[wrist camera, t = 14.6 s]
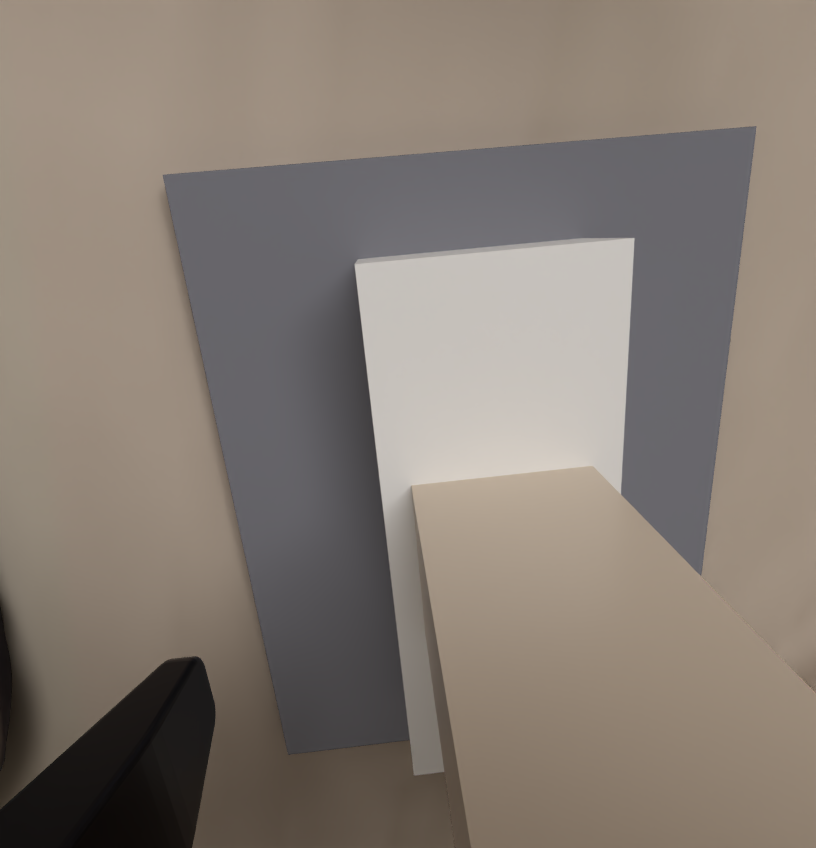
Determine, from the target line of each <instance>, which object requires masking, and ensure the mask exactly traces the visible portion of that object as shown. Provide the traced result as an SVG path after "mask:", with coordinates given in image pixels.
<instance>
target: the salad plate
mask: <svg viewBox="0 0 816 848" xmlns="http://www.w3.org/2000/svg"><path fill="white" fill-rule="evenodd" d="M11 693H12V673H11V664H10V657H9V651H8V647H7V642H6V638H5V633H4V627H3V620H2V614H1V608H0V771H1V769H2V767H3V764H4V761H5V750H6V740H7V733H8V726H9V719H10V707H11Z"/></svg>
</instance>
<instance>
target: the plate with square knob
mask: <svg viewBox="0 0 816 848" xmlns="http://www.w3.org/2000/svg"><path fill="white" fill-rule="evenodd" d="M634 240H635V238H578V239H568V240H557V241H546V242H536V243H525V244H514V245H504V246H493V247H482V248H472V249H461V250H450V251H440V252H429V253H418V254H408V255H397V256H387V257H376V258H365V259H358V260H357V261H356V263H355V273H356V281H357V290H358V298H359V307H360V316H361V324H362V333H363V341H364V350H365V359H366V367H367V376H368V384H369V393H370V402H371V410H372V419H373V427H374V436H375V445H376V453H377V462H378V470H379V479H380V488H381V496H382V505H383V513H384V522H385V531H386V539H387V548H388V556H389V565H390V574H391V582H392V591H393V600H394V608H395V617H396V625H397V634H398V643H399V651H400V660H401V668H402V677H403V686H404V694H405V703H406V711H407V720H408V729H409V737H410V746H411V754H412V763H413V772H414V776H416V775H424V774H432V773H440V772H444V773H445V780H446V787H447V794H448V802H449V809H450V816H451V823H452V830H453V838H454V845H455V848H816V693H815V692H814V691H813V690H812V689H811V688H810V687H809V686H808V685H807V684H806V683H805V682H804V681H803V680H802V679H801V678H800V677H799V676H798V675H797V674H796V673H795V672H794V671H793V670H792V669H791V668H790V667H789V665H788V664H787V663H786V662H785V661H784V660H783V659H782V658H781V657H780V656H779V655H778V654H777V653H776V652H775V651H774V650H773V649H772V648H771V647H770V646H769V645H768V644H767V643H766V642H765V641H764V640H763V639H762V638H761V637H760V636H759V635H758V634H757V633H756V632H755V631H754V630H753V629H752V628H751V627H750V626H749V625H748V624H747V623H746V622H745V621H744V620H743V619H742V618H741V617H740V615H739V614H738V613H737V612H736V611H735V610H734V609H733V608H732V607H731V606H730V605H729V604H728V603H727V602H726V601H725V600H724V599H723V598H722V597H721V596H720V595H719V594H718V593H717V592H716V591H715V590H714V589H713V588H712V587H711V586H710V585H709V584H708V583H707V582H706V581H705V580H704V579H703V578H702V577H701V576H700V575H699V574H698V573H697V572H696V571H695V570H694V569H693V568H692V567H691V565H690V564H689V563H688V562H687V561H686V560H685V559H684V558H683V557H682V556H681V555H680V554H679V553H678V552H677V551H676V550H675V549H674V548H673V547H672V546H671V545H670V544H669V543H668V542H667V541H666V540H665V539H664V538H663V537H662V536H661V535H660V534H659V533H658V532H657V531H656V530H655V529H654V528H653V527H652V526H651V525H650V524H649V523H648V522H647V521H646V520H645V519H644V518H643V517H642V515H641V514H640V513H639V512H638V511H637V510H636V509H635V508H634V507H633V506H632V505H631V504H630V503H629V502H628V501H627V500H626V499H625V498H624V497H623V496H622V495H621V482H622V464H623V445H624V426H625V408H626V389H627V370H628V352H629V333H630V314H631V296H632V277H633V258H634Z"/></svg>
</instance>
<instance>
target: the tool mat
mask: <svg viewBox="0 0 816 848" xmlns="http://www.w3.org/2000/svg"><path fill="white" fill-rule="evenodd" d="M755 134H756V126H754V127H741V128H729V129H717V130H705V131H693V132H680V133H668V134H656V135H644V136H632V137H619V138H607V139H595V140H583V141H570V142H558V143H546V144H534V145H522V146H509V147H497V148H485V149H473V150H461V151H448V152H436V153H424V154H412V155H400V156H387V157H375V158H363V159H351V160H338V161H326V162H314V163H302V164H290V165H277V166H265V167H253V168H241V169H229V170H216V171H204V172H192V173H180V174H167V175H163V179H164V183H165V188H166V193H167V197H168V202H169V206H170V211H171V216H172V220H173V225H174V229H175V234H176V239H177V243H178V248H179V253H180V257H181V262H182V266H183V271H184V276H185V280H186V285H187V290H188V294H189V299H190V303H191V308H192V313H193V317H194V322H195V327H196V331H197V336H198V340H199V345H200V350H201V354H202V359H203V363H204V368H205V373H206V377H207V382H208V387H209V391H210V396H211V400H212V405H213V410H214V414H215V419H216V424H217V428H218V433H219V437H220V442H221V447H222V451H223V456H224V460H225V465H226V470H227V474H228V479H229V484H230V488H231V493H232V497H233V502H234V507H235V511H236V516H237V521H238V525H239V530H240V534H241V539H242V544H243V548H244V553H245V558H246V562H247V567H248V571H249V576H250V581H251V585H252V590H253V594H254V599H255V604H256V608H257V613H258V618H259V622H260V627H261V631H262V636H263V641H264V645H265V650H266V655H267V659H268V664H269V668H270V673H271V678H272V682H273V687H274V691H275V696H276V701H277V705H278V710H279V715H280V719H281V724H282V728H283V733H284V738H285V742H286V747H287V752H288V755H290V754H298V753H307V752H315V751H323V750H331V749H339V748H348V747H356V746H364V745H372V744H381V743H389V742H397V741H405V740H410V737H409V729H408V720H407V711H406V703H405V694H404V686H403V677H402V668H401V660H400V651H399V643H398V634H397V625H396V617H395V608H394V600H393V591H392V582H391V574H390V565H389V556H388V548H387V539H386V531H385V522H384V513H383V505H382V496H381V488H380V479H379V470H378V462H377V453H376V445H375V436H374V427H373V419H372V410H371V402H370V393H369V384H368V376H367V367H366V359H365V350H364V341H363V333H362V324H361V316H360V307H359V298H358V290H357V281H356V273H355V263H356V261H357V260H358V259H365V258H376V257H387V256H397V255H408V254H418V253H429V252H440V251H450V250H461V249H472V248H482V247H493V246H504V245H514V244H525V243H536V242H546V241H557V240H568V239H578V238H635V240H634V258H633V277H632V296H631V314H630V333H629V352H628V370H627V389H626V408H625V426H624V445H623V464H622V482H621V495H622V496H623V497H624V498H625V499H626V500H627V501H628V502H629V503H630V504H631V505H632V506H633V507H634V508H635V509H636V510H637V511H638V512H639V513H640V514H641V515H642V517H643V518H644V519H645V520H646V521H647V522H648V523H649V524H650V525H651V526H652V527H653V528H654V529H655V530H656V531H657V532H658V533H659V534H660V535H661V536H662V537H663V538H664V539H665V540H666V541H667V542H668V543H669V544H670V545H671V546H672V547H673V548H674V549H675V550H676V551H677V552H678V553H679V554H680V555H681V556H682V557H683V558H684V559H685V560H686V561H687V562H688V563H689V564H690V565H691V567H692V568H693V569H694V570H695V571H696V572H697V573H698V574H699V575H700V576H701V573H702V565H703V557H704V549H705V541H706V532H707V524H708V516H709V508H710V500H711V492H712V484H713V475H714V467H715V459H716V451H717V443H718V435H719V427H720V419H721V410H722V402H723V394H724V386H725V378H726V370H727V362H728V353H729V345H730V337H731V329H732V321H733V313H734V305H735V297H736V288H737V280H738V272H739V264H740V256H741V248H742V240H743V232H744V223H745V215H746V207H747V199H748V191H749V183H750V175H751V166H752V158H753V150H754V142H755Z"/></svg>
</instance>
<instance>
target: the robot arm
mask: <svg viewBox="0 0 816 848" xmlns="http://www.w3.org/2000/svg"><path fill="white" fill-rule="evenodd" d="M214 725H215V703H214V699H213V695H212V692H211V688H210V684H209V680H208V677H207V673H206V669H205V666H204V663H203V661H202V660H201V658H199V657H196V656H193V657H184V658H175V659H170V660H167V661H165V662H164V663H163V664H161V665H160V666H159V667H158V668H157V669H156V670H155V671H154V672H152V673H151V674H150V675H149V676H148V677H147V678H146V679H145V680H144V681H142V682H141V683H140V684H139V685H138V686H137V687H136V688H135V689H134V690H132V691H131V692H130V693H129V694H128V695H127V696H126V697H125V698H124V699H122V700H121V701H120V702H119V703H118V704H117V705H116V706H115V707H114V708H112V709H111V710H110V711H109V712H108V713H107V714H106V715H105V716H104V717H102V718H101V719H100V720H99V721H98V722H97V723H96V724H95V725H94V726H93V727H91V728H90V729H89V730H88V731H87V732H86V733H85V734H84V735H83V736H81V737H80V738H79V739H78V740H77V741H76V742H75V743H74V744H73V745H71V746H70V747H69V748H68V749H67V750H66V751H65V752H64V753H63V754H61V755H60V756H59V757H58V758H57V759H56V760H55V761H54V762H53V763H51V764H50V765H49V766H48V767H47V768H46V769H45V770H44V771H43V772H41V773H40V774H39V775H38V776H37V777H36V778H35V779H34V780H33V781H31V782H30V783H29V784H28V785H27V786H26V787H25V788H24V789H23V790H21V791H20V792H19V793H18V794H17V795H16V796H15V797H14V798H13V799H11V800H10V801H9V802H8V803H7V804H6V805H5V806H4V807H3V808H1V809H0V848H192V845H193V840H194V835H195V830H196V824H197V819H198V813H199V808H200V802H201V797H202V791H203V786H204V780H205V775H206V769H207V764H208V758H209V753H210V747H211V742H212V736H213V731H214Z"/></svg>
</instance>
